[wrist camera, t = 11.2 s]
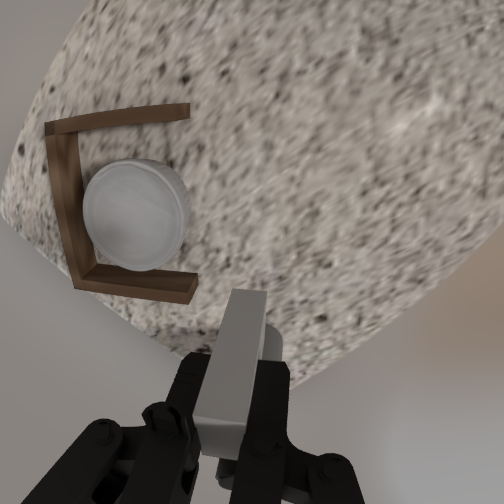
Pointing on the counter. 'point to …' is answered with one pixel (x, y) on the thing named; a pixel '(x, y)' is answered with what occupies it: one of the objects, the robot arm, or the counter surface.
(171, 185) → the ramekin
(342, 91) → the counter surface
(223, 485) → the lotion bottle
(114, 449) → the robot arm
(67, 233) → the walnut box
